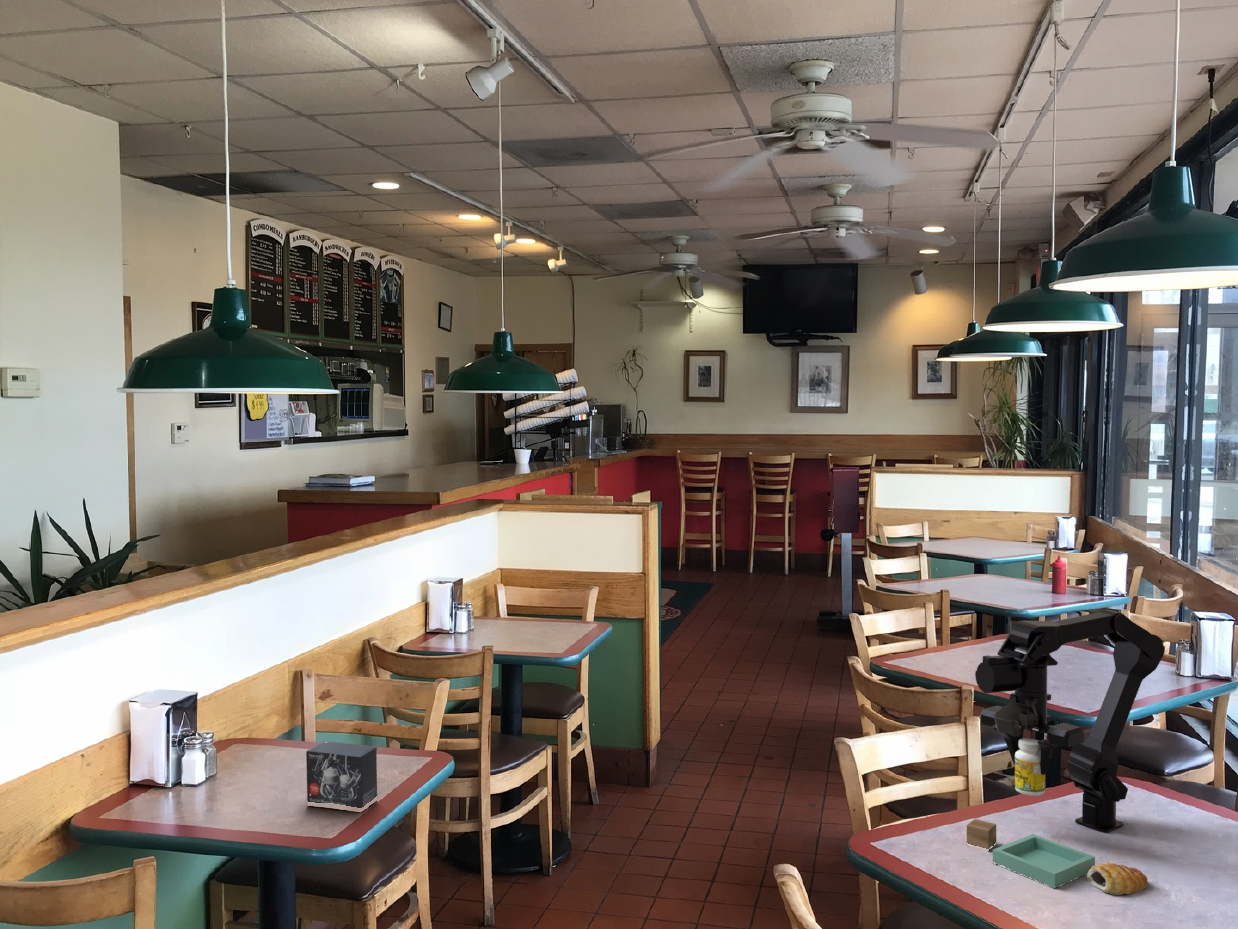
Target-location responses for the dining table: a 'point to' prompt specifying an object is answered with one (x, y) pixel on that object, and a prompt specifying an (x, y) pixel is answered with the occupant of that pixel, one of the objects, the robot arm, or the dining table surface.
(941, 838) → the dining table surface
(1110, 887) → the pastry
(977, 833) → the walnut block
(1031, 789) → the supplement bottle
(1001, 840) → the dining table surface
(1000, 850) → the tray
